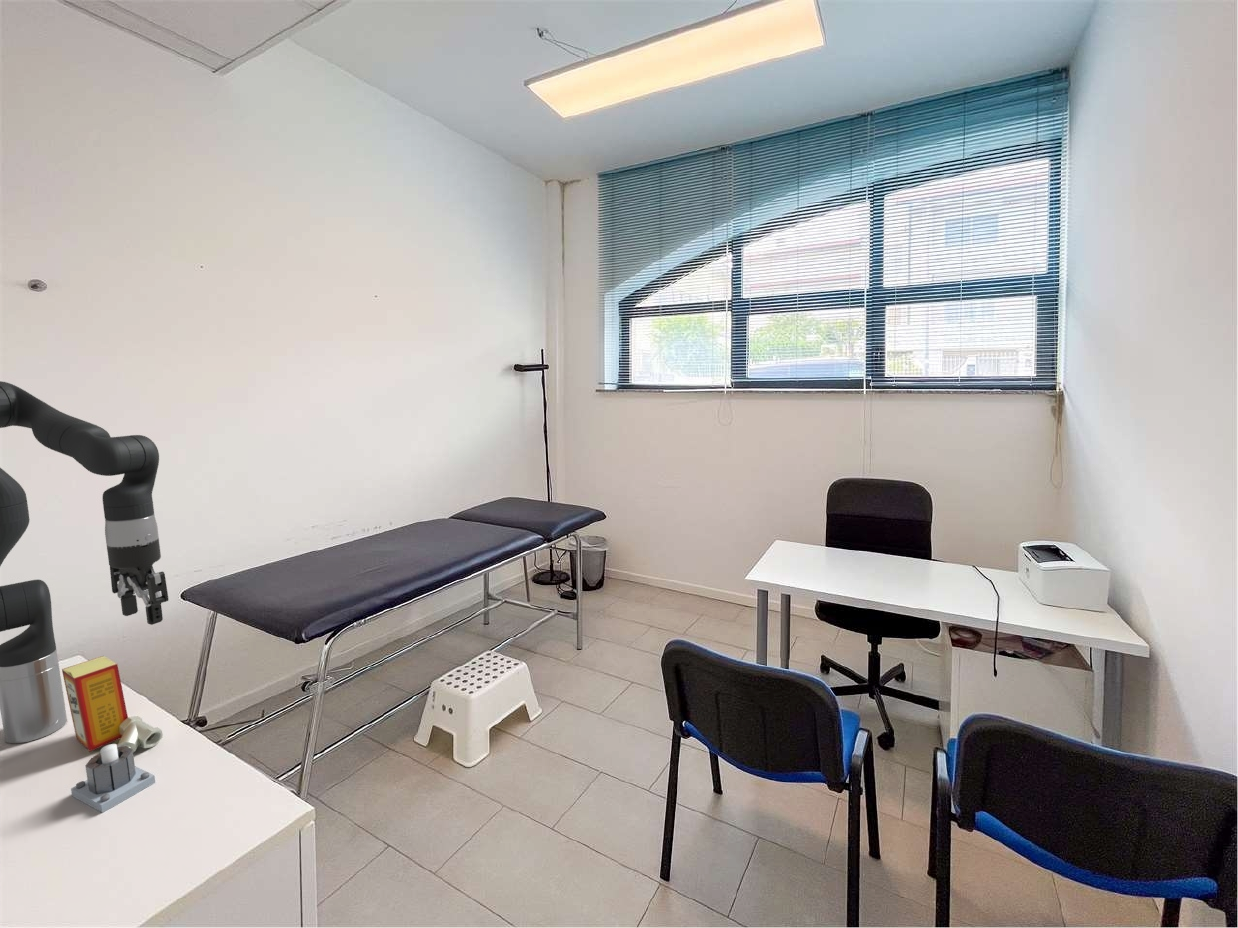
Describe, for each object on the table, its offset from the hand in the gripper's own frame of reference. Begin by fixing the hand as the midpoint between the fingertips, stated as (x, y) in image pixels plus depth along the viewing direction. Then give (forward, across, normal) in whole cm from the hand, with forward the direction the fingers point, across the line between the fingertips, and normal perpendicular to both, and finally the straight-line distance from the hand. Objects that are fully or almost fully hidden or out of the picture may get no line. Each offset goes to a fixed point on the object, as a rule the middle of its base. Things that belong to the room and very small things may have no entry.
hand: (142, 618), depth 106 cm
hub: (+28, +4, -9) cm, 29 cm away
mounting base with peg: (+29, +4, -9) cm, 31 cm away
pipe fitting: (+29, -7, -1) cm, 30 cm away
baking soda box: (+29, -16, -2) cm, 33 cm away
